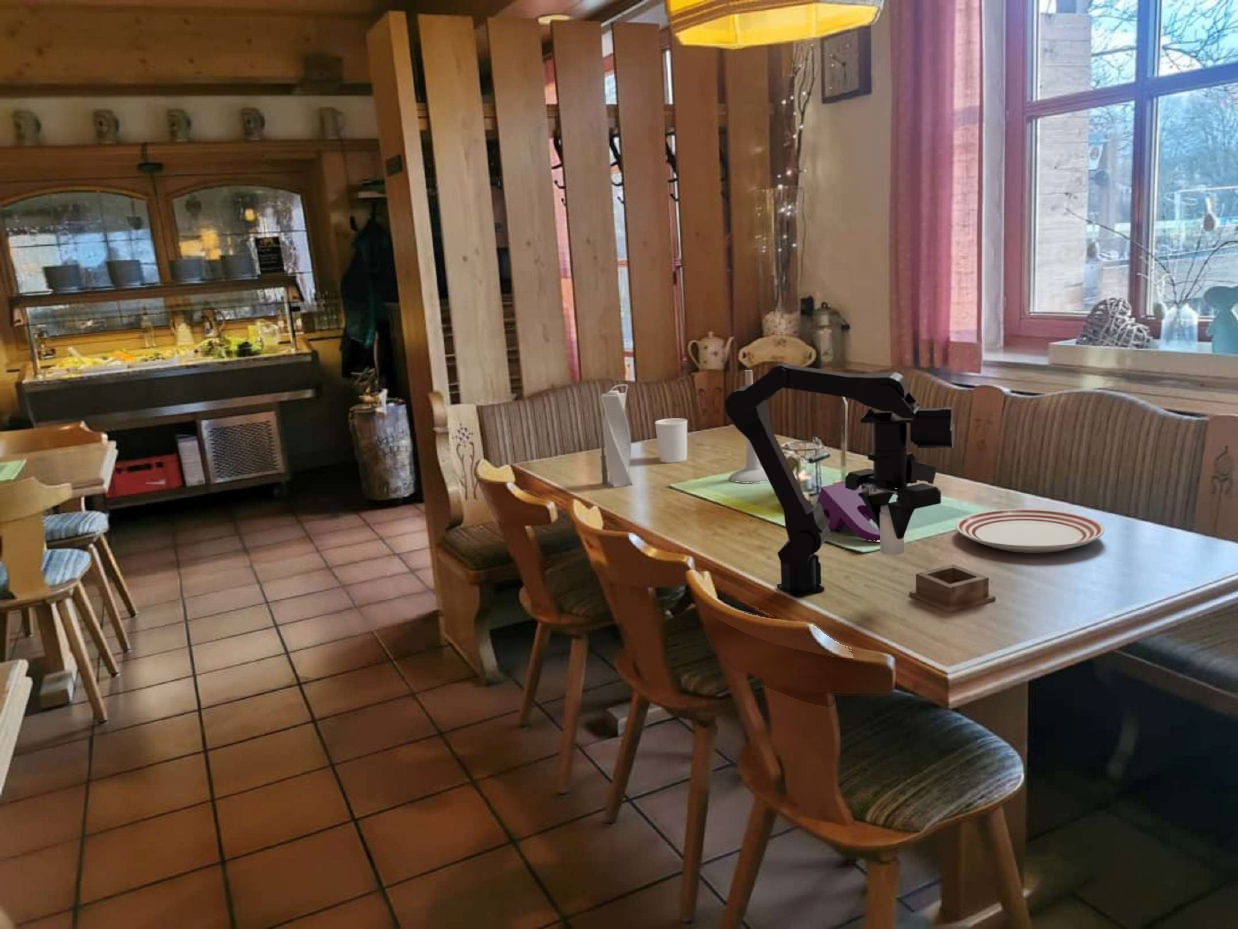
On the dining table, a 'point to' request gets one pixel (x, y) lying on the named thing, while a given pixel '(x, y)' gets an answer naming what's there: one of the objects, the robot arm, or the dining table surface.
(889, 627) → the dining table surface
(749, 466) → the candlestick
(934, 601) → the box
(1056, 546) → the dinner plate
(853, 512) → the mounting bracket
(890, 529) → the salt shaker
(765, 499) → the dining table surface
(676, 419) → the white cup
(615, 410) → the skyscraper
